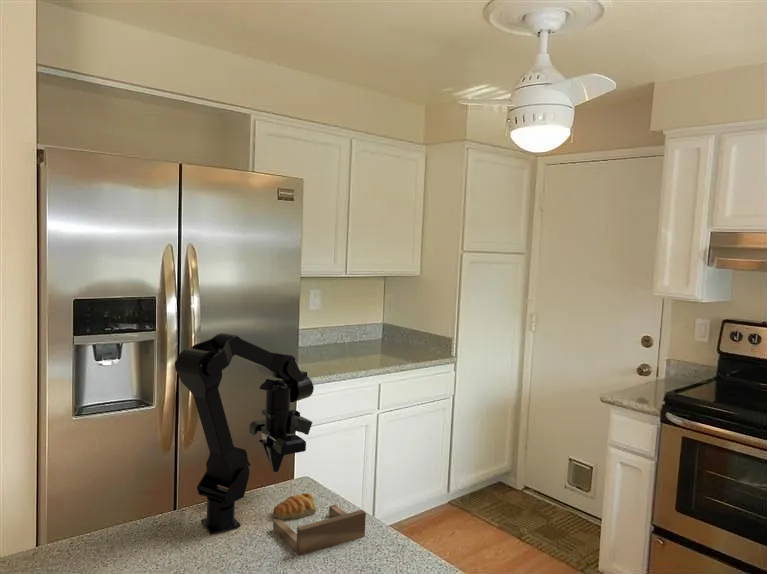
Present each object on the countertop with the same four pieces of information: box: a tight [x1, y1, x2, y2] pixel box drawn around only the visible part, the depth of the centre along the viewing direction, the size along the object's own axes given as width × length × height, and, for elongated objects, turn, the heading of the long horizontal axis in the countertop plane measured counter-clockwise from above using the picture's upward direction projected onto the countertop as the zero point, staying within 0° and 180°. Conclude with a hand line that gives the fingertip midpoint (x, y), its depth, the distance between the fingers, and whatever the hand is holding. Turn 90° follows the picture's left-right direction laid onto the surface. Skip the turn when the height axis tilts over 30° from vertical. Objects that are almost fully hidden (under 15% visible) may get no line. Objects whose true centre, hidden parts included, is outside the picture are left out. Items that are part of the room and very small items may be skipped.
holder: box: [272, 504, 367, 556], centre depth 121 cm, size 12×15×5 cm
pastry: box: [272, 492, 317, 521], centre depth 130 cm, size 9×7×4 cm
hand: (275, 471), depth 138 cm, fingers closed
